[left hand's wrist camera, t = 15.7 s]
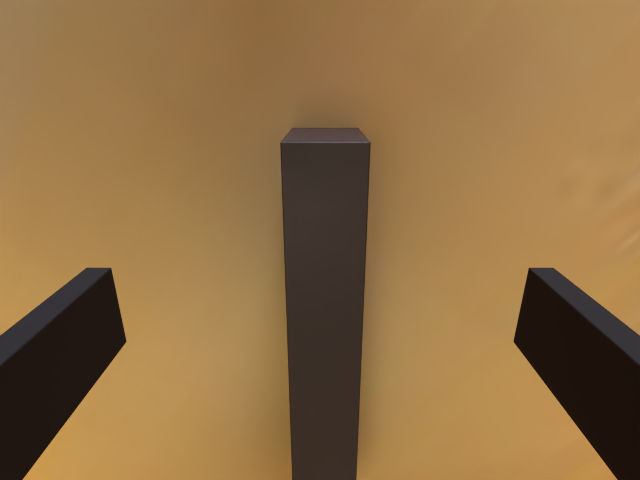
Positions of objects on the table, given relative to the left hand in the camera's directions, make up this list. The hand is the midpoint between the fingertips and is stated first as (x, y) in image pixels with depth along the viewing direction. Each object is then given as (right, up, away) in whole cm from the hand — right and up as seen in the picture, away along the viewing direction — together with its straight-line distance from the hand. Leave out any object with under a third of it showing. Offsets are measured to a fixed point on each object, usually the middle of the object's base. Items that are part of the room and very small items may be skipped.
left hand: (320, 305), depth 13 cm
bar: (0, -6, +25) cm, 26 cm away
